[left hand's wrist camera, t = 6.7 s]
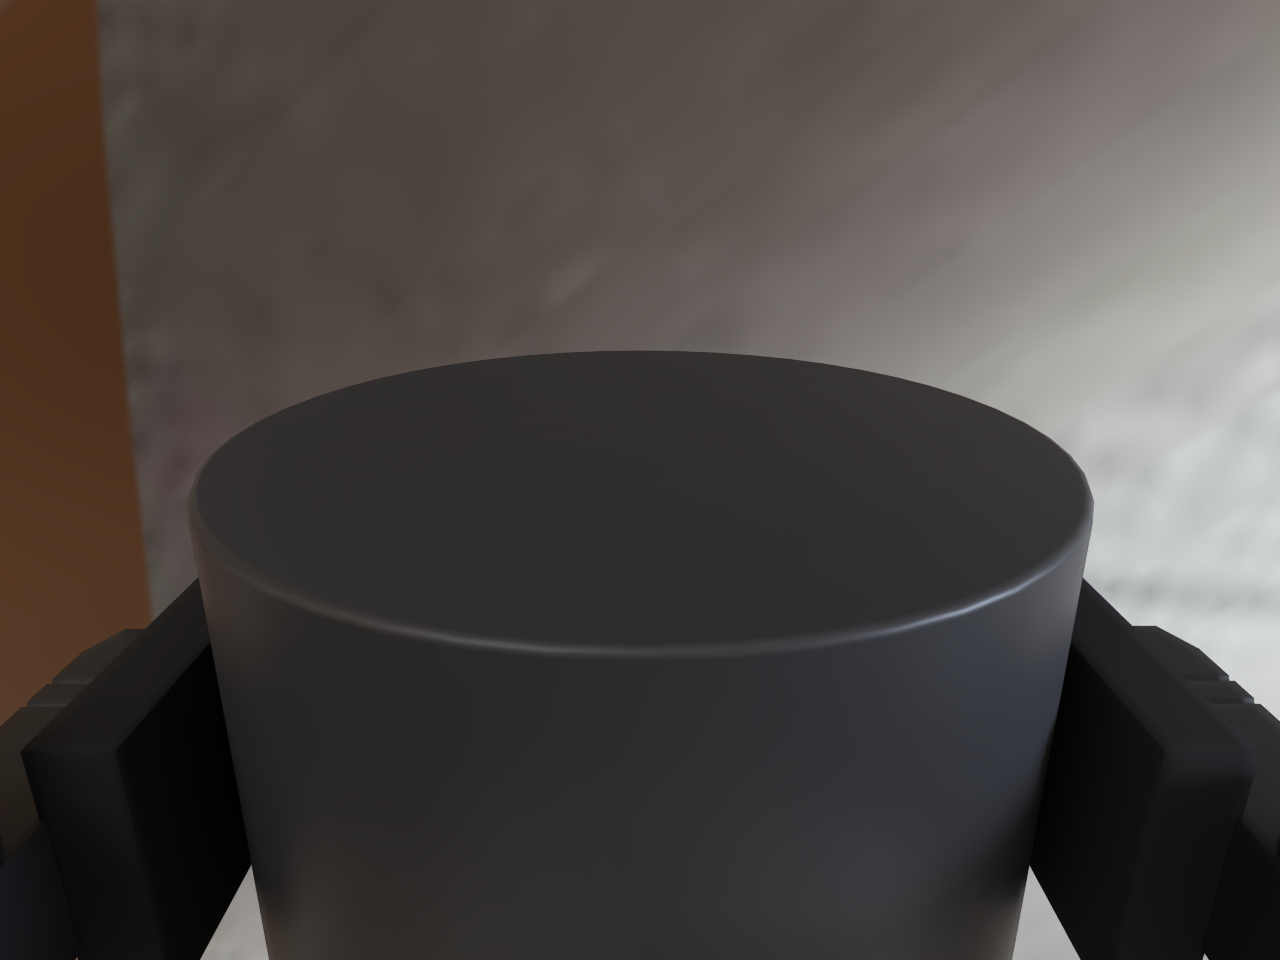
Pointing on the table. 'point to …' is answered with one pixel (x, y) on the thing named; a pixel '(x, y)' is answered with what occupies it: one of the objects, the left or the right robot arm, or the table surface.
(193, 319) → the table surface
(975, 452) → the rod
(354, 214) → the table surface
